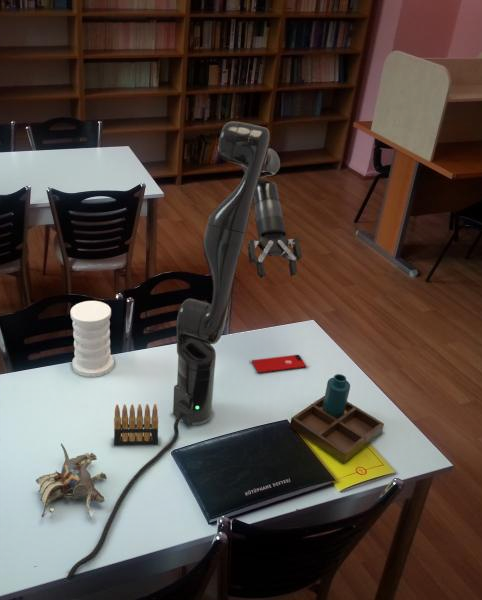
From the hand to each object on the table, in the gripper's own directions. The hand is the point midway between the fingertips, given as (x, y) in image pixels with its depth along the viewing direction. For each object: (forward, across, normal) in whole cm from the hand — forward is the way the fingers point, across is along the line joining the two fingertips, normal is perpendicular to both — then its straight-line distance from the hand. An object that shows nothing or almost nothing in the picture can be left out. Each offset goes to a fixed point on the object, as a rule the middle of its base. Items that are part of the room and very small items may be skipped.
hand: (278, 276), depth 163 cm
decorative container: (+15, -49, +29) cm, 59 cm away
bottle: (+37, +11, +6) cm, 39 cm away
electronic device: (+21, +4, +23) cm, 31 cm away
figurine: (+48, -58, -4) cm, 75 cm away
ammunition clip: (+38, -41, +5) cm, 56 cm away
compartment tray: (+41, +10, +2) cm, 42 cm away
